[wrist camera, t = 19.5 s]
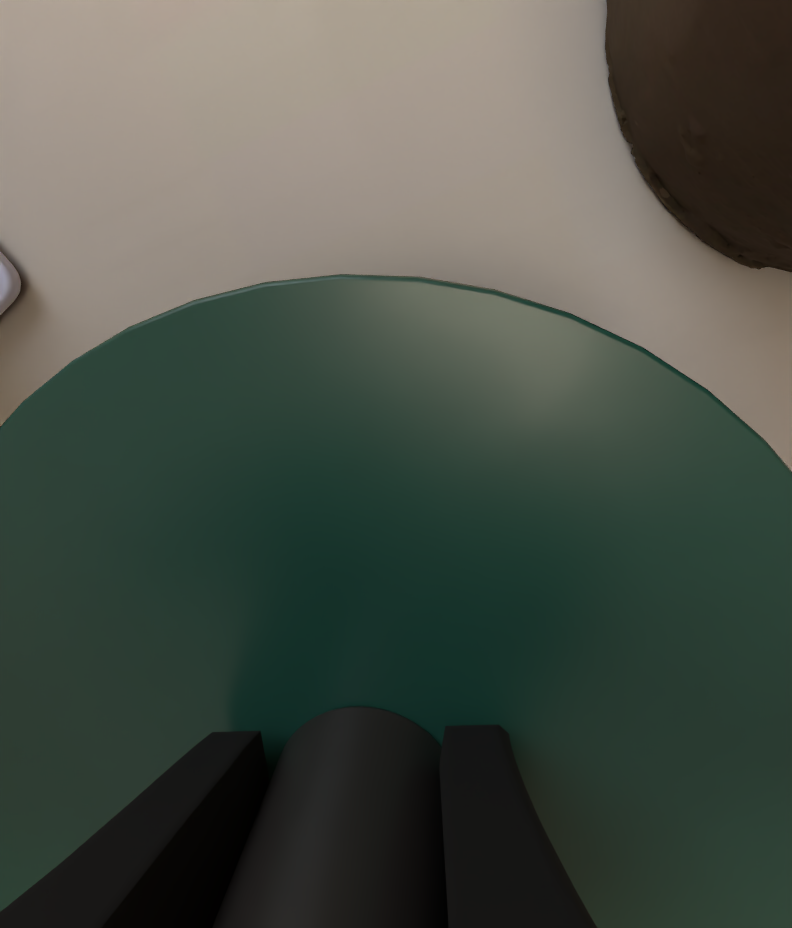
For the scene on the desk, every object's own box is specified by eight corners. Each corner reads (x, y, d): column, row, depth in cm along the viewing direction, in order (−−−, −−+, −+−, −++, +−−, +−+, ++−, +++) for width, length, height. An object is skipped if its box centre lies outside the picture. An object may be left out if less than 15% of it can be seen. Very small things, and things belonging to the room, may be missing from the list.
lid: (-7, 977, 12) (-300, 1409, 7) (-69, 227, 8) (-679, 172, 4) (725, 1113, 11) (905, 1702, 6) (976, 332, 7) (1713, 413, 3)
